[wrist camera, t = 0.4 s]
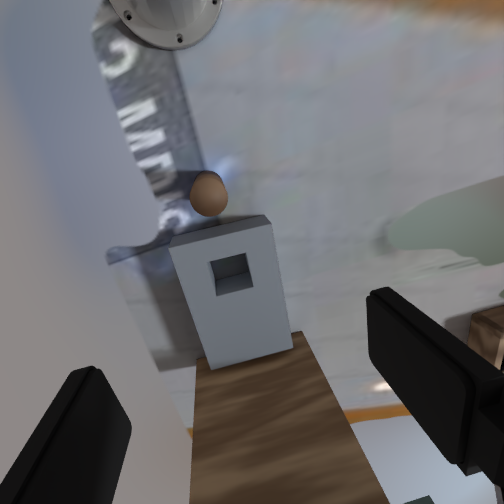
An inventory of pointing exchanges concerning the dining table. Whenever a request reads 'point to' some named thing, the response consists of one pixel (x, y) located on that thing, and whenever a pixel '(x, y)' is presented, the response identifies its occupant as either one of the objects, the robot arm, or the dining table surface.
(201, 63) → the dining table surface
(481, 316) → the display tray
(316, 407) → the glass-topped wooden stand
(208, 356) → the socket block
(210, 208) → the peg
